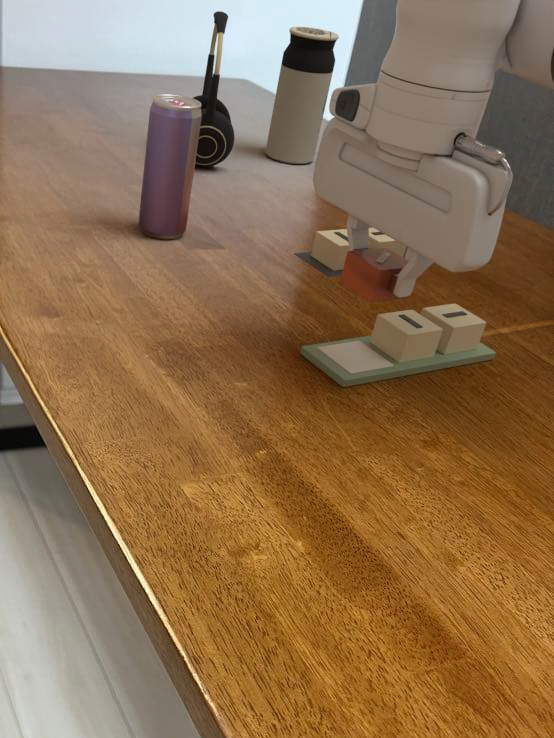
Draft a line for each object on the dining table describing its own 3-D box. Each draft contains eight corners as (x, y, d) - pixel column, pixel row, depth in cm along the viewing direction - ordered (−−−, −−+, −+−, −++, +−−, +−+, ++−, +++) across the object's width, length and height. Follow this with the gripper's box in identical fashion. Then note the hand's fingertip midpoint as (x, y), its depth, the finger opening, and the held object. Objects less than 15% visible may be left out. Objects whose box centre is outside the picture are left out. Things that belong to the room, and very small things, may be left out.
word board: (447, 329, 93) (459, 295, 90) (494, 359, 88) (508, 324, 86) (299, 353, 84) (308, 316, 82) (342, 387, 80) (353, 349, 77)
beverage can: (156, 243, 103) (172, 108, 94) (128, 226, 107) (140, 94, 97) (194, 237, 106) (213, 106, 97) (166, 221, 110) (181, 92, 100)
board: (414, 247, 113) (423, 217, 110) (451, 267, 108) (462, 237, 105) (292, 259, 104) (299, 227, 102) (326, 282, 100) (334, 250, 97)
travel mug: (260, 158, 137) (283, 30, 126) (269, 147, 143) (292, 23, 132) (309, 168, 136) (337, 39, 124) (316, 156, 142) (343, 32, 130)
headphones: (224, 151, 138) (247, 7, 126) (230, 179, 127) (256, 24, 114) (172, 144, 138) (189, 0, 125) (173, 172, 126) (192, 16, 114)
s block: (377, 278, 81) (386, 245, 79) (409, 297, 78) (419, 265, 76) (339, 282, 79) (347, 249, 78) (370, 302, 76) (380, 269, 75)
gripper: (548, 155, 64) (482, 326, 73) (375, 86, 78) (337, 237, 86) (488, 158, 62) (428, 334, 70) (320, 86, 75) (286, 242, 84)
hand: (376, 280), depth 78 cm, fingers closed on s block, 4 cm apart
